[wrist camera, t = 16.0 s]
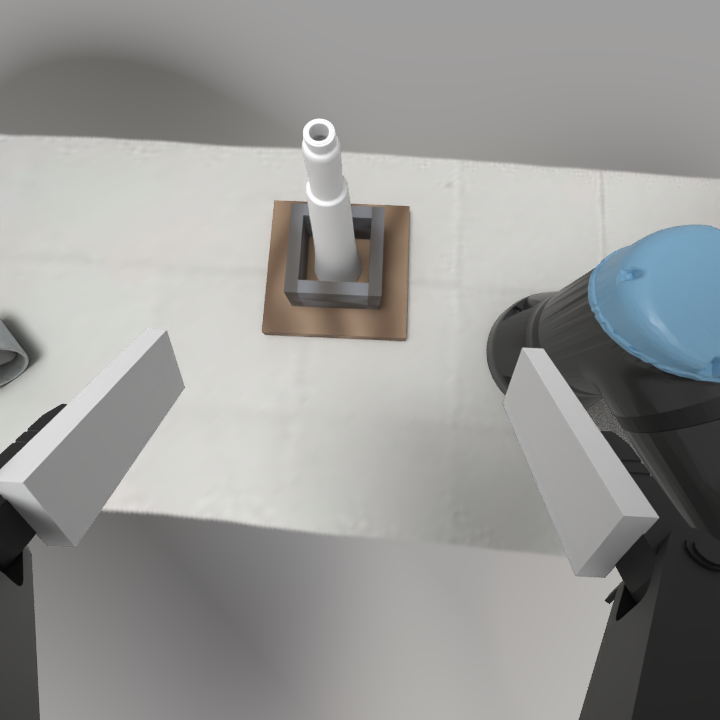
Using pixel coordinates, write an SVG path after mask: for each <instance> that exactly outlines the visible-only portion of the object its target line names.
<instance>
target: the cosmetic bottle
mask: <svg viewBox="0 0 720 720" xmlns="http://www.w3.org/2000/svg"><path fill="white" fill-rule="evenodd" d="M303 137H304V139H303V142H302V151H303V156H304V161H305V165H306V170H307V175H308V181H307V184H306V194H307V202H308V208H309V215H310V221H311V227H312V233H313V239H314V246H315V266H314V267H315V273H316V276H317V278H318V279H319V281H334V282H356V281H357V279H358V278H359V276H360V273H361V269H362V264H361V260H360V257H359V255H358V252H357V248H356V243H355V237H354V229H353V220H352V212H351V204H350V197H349V190H348V184H347V181H346V179H345V178H344V176H343V175H342V164H341V150H340V142H339V139H338V137H337V136H336V134H335V129H334V126H333V125H332V124H331V123H330V122H329V121H327V120H324V119H314V120H312V121H310V122H308V123H307V124H306V126H305V127H304V130H303Z"/></svg>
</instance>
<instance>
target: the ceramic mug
mask: <svg viewBox="0 0 720 720" xmlns="http://www.w3.org/2000/svg"><path fill="white" fill-rule="evenodd" d="M28 363H29V360H28V356H27V354H26V353H25V352H24V350H23V349H22V348H21V346H20V345H19V344H18V343H17V341H16V340H15V338H14V337H13V336H12V334H11V333H10V332H9V331H8V329H7V328H6V326H5V325H4V323H3V322H2V321H1V320H0V386H1V385H3V384H5V383H7V382H9V381H11V380H13V379H15V378H16V377H18V376H19V375H20V374H21V373H22V372H23V371H24V370H25V369H26V368H27V366H28Z"/></svg>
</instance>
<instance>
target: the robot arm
mask: <svg viewBox="0 0 720 720" xmlns="http://www.w3.org/2000/svg"><path fill="white" fill-rule="evenodd" d="M487 360H488V365H489V369H490V372H491V374H492V377H493V379H494V381H495V382H496V384H497V385H498V387H499V388H500V390H501V391H502V392H503V393H504V394H505V398H504V401H503V406H504V408H505V411H506V413H507V415H508V418H509V420H510V423H511V425H512V427H513V430H514V432H515V434H516V437H517V439H518V441H519V444H520V446H521V449H522V451H523V453H524V456H525V458H526V460H527V463H528V465H529V468H530V470H531V472H532V475H533V477H534V479H535V482H536V484H537V486H538V489H539V491H540V494H541V496H542V498H543V501H544V503H545V505H546V508H547V510H548V513H549V515H550V517H551V520H552V522H553V524H554V527H555V529H556V531H557V534H558V536H559V539H560V541H561V543H562V546H563V548H564V550H565V553H566V555H567V557H568V560H569V562H570V564H571V567H572V569H573V572H574V574H575V576H584V577H601V578H602V577H603V578H605V577H606V576H607V575H608V574H609V573H610V572H611V571H612V569H613V568H614V567H615V566H616V568H617V569H618V572H619V573H620V575H621V577H622V579H623V581H622V582H621V583H620V584H619V585H618V586H617V587H616V588H615V589H614V590H613V591H612V592H611V593H610V594H609V596H608V597H607V598H606V600H605V601H606V602H607V603H609V604H610V603H611V602H612V601H613V600H614V602H613V606H612V609H611V612H610V616H609V619H608V623H607V626H606V629H605V633H604V636H603V639H602V643H601V646H600V650H599V653H598V656H597V660H596V663H595V667H594V670H593V673H592V677H591V680H590V684H589V687H588V691H587V694H586V697H585V700H584V704H583V708H582V711H581V714H580V718H579V720H720V230H719V229H717V228H714V227H712V226H707V225H683V226H676V227H671V228H667V229H663V230H660V231H657V232H655V233H652V234H650V235H648V236H646V237H644V238H642V239H641V240H639V241H637V242H635V243H634V244H632V245H630V246H627V247H624V248H622V249H619V250H617V251H615V252H613V253H612V254H610V255H609V256H607V257H606V258H604V259H603V260H602V261H601V263H600V264H599V265H598V266H597V267H596V268H594V269H593V270H591V271H590V272H588V273H587V274H585V275H584V276H582V277H580V278H579V279H577V280H576V281H574V282H573V283H571V284H569V285H568V286H566V287H565V288H563V289H562V290H560V291H557V292H547V293H539V294H534V295H531V296H528V297H526V298H523V299H521V300H520V301H518V302H516V303H515V304H513V305H512V306H511V307H509V308H508V309H507V310H506V311H504V312H503V313H502V314H501V315H500V316H499V318H498V319H497V320H496V322H495V323H494V325H493V327H492V329H491V331H490V334H489V338H488V342H487ZM184 388H185V386H184V383H183V380H182V377H181V373H180V370H179V367H178V364H177V361H176V358H175V355H174V351H173V348H172V345H171V342H170V339H169V336H168V333H167V330H159V329H146V330H144V331H143V332H142V333H141V334H140V335H139V336H138V337H137V338H136V339H135V340H134V341H133V342H132V343H131V344H130V345H129V346H128V347H127V348H126V349H125V350H124V351H123V352H122V353H121V354H120V355H119V356H117V357H116V358H115V359H114V360H113V361H112V362H111V363H110V364H109V365H108V366H107V367H106V368H105V369H104V370H103V371H102V372H101V373H100V374H99V375H98V376H97V377H96V378H95V379H94V380H93V381H92V382H90V383H89V384H88V385H87V386H86V387H85V388H84V389H83V390H82V391H81V392H80V393H79V394H78V395H77V396H76V397H75V398H74V399H73V400H72V401H71V402H70V403H69V404H61V405H59V406H58V407H56V408H54V409H52V410H51V411H49V412H47V413H46V414H44V415H42V416H41V417H40V418H39V419H38V420H37V421H36V422H35V423H34V424H33V425H31V426H30V427H29V428H28V431H27V432H24V433H23V434H22V435H21V436H20V437H18V438H17V439H16V442H15V443H12V444H11V445H10V446H9V447H8V448H7V449H5V450H4V451H3V452H2V453H1V454H0V720H40V714H39V693H38V675H37V654H36V633H35V613H34V594H33V573H32V554H31V552H30V549H29V547H27V544H28V543H29V542H30V540H31V539H32V538H33V537H34V535H35V534H37V536H38V537H39V538H40V539H41V540H42V541H43V542H44V543H45V544H46V546H59V547H76V546H77V544H78V543H79V541H80V540H81V539H82V537H83V536H84V534H85V532H86V531H87V530H88V528H89V527H90V525H91V524H92V522H93V521H94V519H95V518H96V516H97V515H98V514H99V512H100V511H101V509H102V508H103V506H104V505H105V504H106V502H107V501H108V499H109V498H110V496H111V495H112V493H113V492H114V490H115V489H116V487H117V486H118V485H119V483H120V482H121V480H122V479H123V477H124V476H125V474H126V473H127V471H128V470H129V468H130V467H131V466H132V464H133V463H134V461H135V460H136V458H137V457H138V455H139V454H140V452H141V451H142V449H143V448H144V447H145V445H146V444H147V442H148V441H149V439H150V438H151V436H152V435H153V433H154V432H155V430H156V429H157V428H158V426H159V425H160V423H161V422H162V420H163V419H164V417H165V416H166V414H167V413H168V411H169V410H170V409H171V407H172V406H173V404H174V403H175V401H176V400H177V398H178V397H179V395H180V394H181V392H182V391H183V390H184ZM602 398H603V399H604V400H605V402H606V403H607V405H608V407H609V408H610V410H611V411H612V413H613V414H614V416H615V417H616V419H617V421H618V422H619V424H620V425H621V428H622V429H623V431H624V432H625V434H626V436H627V437H628V439H629V440H630V442H631V444H632V445H633V447H634V448H635V450H636V452H637V453H638V455H639V457H640V458H641V460H642V461H643V463H644V464H642V463H641V460H640V459H639V457H638V456H637V455H636V453H635V452H634V451H633V449H632V448H631V447H630V445H629V444H627V443H626V442H625V441H624V440H622V439H621V438H620V437H619V436H617V435H616V434H615V433H614V432H608V431H600V430H599V429H598V427H597V426H596V425H595V423H594V422H593V420H592V419H591V417H590V416H589V414H588V413H587V411H586V410H585V409H586V408H588V407H590V406H592V405H594V404H595V403H596V402H598V401H599V400H600V399H602ZM645 466H646V467H645ZM650 474H651V476H650Z"/></svg>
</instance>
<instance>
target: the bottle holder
mask: <svg viewBox="0 0 720 720" xmlns="http://www.w3.org/2000/svg"><path fill="white" fill-rule="evenodd" d="M409 207H410V206H391V205H368V204H351V212H352V220H353V229H354V237H355V243H356V248H357V252H358V255H359V257H360V260H361V264H362V269H361V273H360V276H359V278H358V279H357V281H356V282H334V281H319V279H318V278H317V276H316V273H315V267H314V266H315V246H314V239H313V233H312V227H311V221H310V215H309V208H308V202H298V201H275V200H274V210H273V220H272V231H271V241H270V252H269V262H268V272H267V283H266V293H265V304H264V314H263V325H262V332H263V333H264V334H265V335H286V336H308V337H330V338H351V339H373V340H395V341H405V339H406V323H407V284H408V246H409Z"/></svg>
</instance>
